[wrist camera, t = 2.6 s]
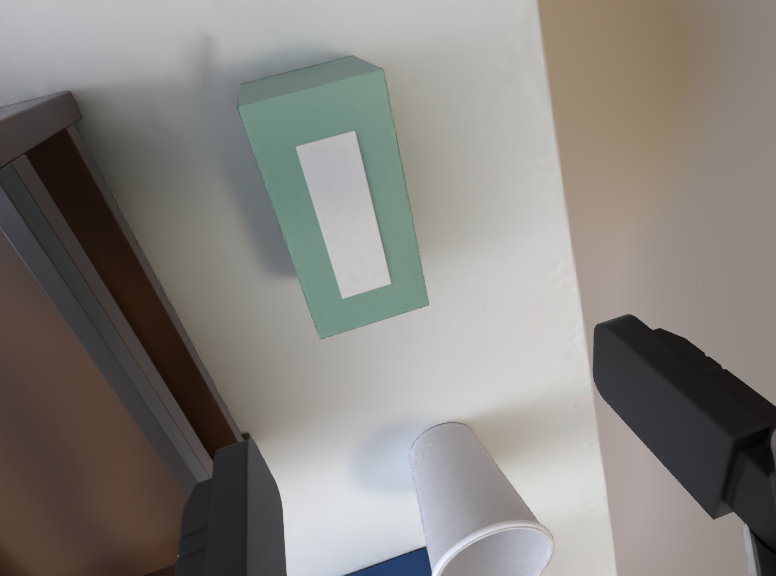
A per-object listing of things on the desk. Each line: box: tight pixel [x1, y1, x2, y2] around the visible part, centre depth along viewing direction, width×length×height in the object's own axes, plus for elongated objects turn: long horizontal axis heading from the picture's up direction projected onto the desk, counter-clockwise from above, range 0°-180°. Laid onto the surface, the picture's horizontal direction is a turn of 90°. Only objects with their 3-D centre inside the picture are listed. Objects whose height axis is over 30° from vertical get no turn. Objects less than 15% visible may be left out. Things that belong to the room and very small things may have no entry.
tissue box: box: [237, 56, 429, 339], centre depth 24 cm, size 6×11×7 cm, turn 12°
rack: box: [0, 91, 252, 576], centre depth 23 cm, size 12×24×10 cm, turn 12°
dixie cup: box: [409, 423, 554, 576], centre depth 35 cm, size 8×8×10 cm
